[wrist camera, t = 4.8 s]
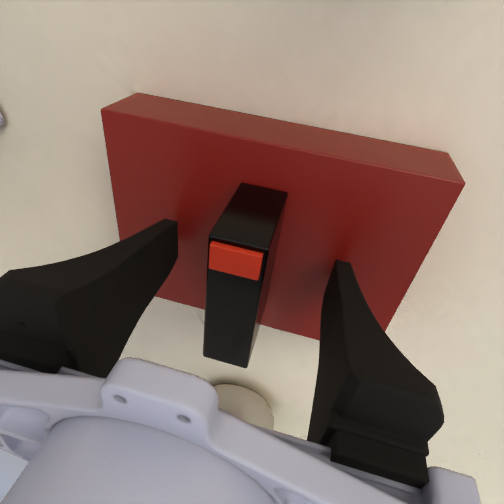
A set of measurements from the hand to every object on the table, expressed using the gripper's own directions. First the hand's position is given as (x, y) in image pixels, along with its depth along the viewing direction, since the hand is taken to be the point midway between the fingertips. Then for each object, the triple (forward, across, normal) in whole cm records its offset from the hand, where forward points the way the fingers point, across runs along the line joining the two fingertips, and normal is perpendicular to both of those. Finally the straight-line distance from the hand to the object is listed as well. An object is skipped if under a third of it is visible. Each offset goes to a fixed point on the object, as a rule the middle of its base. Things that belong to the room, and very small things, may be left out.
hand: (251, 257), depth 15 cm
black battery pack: (+1, 0, 0) cm, 1 cm away
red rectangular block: (+4, 0, 0) cm, 4 cm away
